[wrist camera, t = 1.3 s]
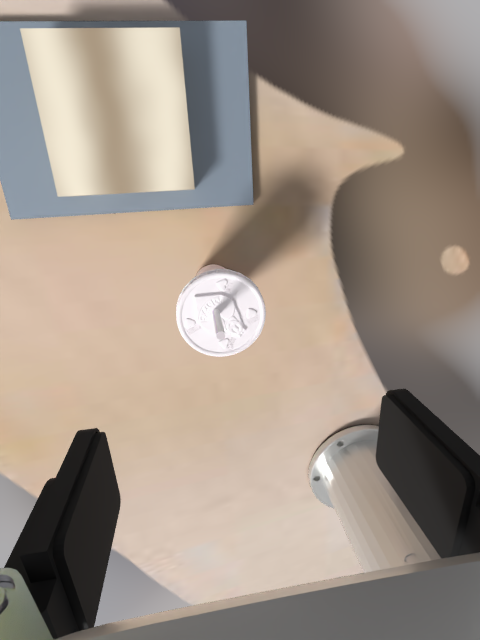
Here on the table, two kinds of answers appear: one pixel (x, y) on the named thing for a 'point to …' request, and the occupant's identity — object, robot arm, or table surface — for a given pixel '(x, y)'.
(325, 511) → the table surface
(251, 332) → the smoothie
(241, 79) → the board
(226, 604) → the robot arm
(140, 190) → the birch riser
